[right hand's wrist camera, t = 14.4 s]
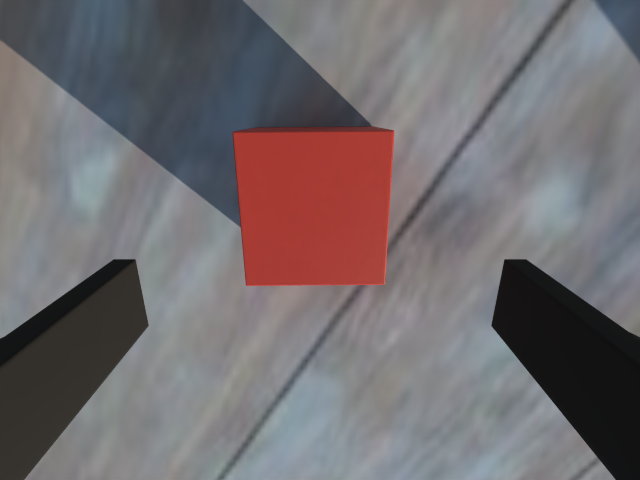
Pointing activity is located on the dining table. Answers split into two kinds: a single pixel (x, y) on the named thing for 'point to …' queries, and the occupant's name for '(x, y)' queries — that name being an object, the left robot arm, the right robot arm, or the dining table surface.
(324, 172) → the brick
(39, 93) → the dining table surface
